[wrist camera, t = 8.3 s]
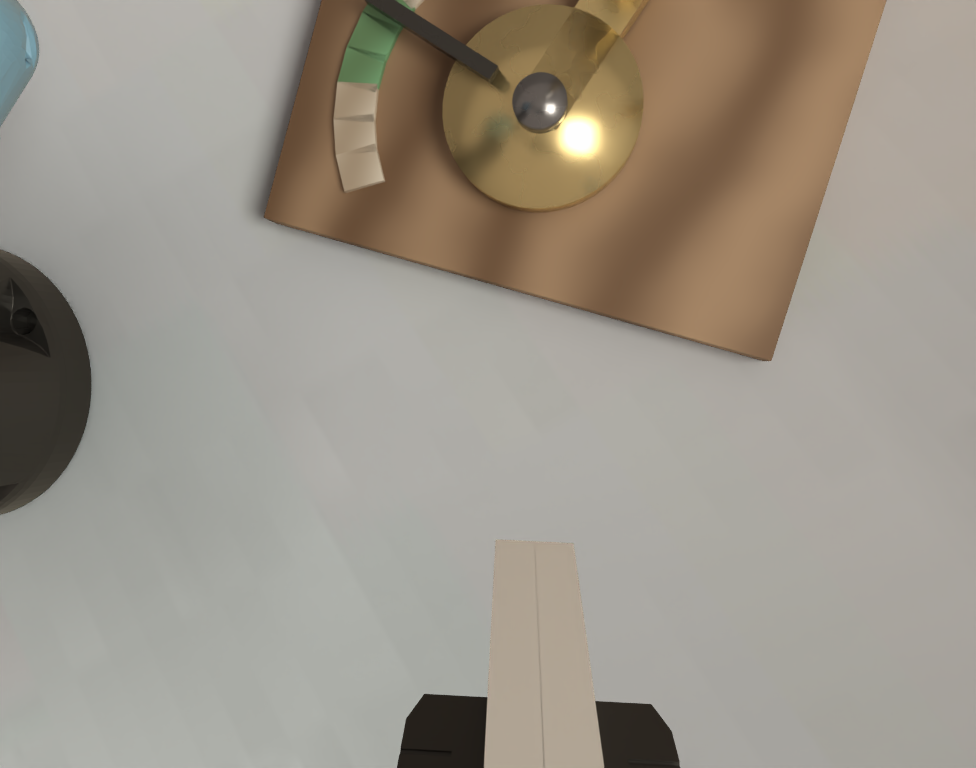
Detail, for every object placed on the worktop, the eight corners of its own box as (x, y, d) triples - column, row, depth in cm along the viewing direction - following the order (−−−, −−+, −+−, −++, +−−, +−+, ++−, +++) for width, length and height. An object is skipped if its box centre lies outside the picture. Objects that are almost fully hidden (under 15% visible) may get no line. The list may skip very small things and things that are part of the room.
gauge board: (276, 223, 37) (261, 216, 35) (377, -149, 36) (365, -176, 34) (763, 361, 34) (772, 360, 32) (893, -46, 32) (910, -70, 31)
